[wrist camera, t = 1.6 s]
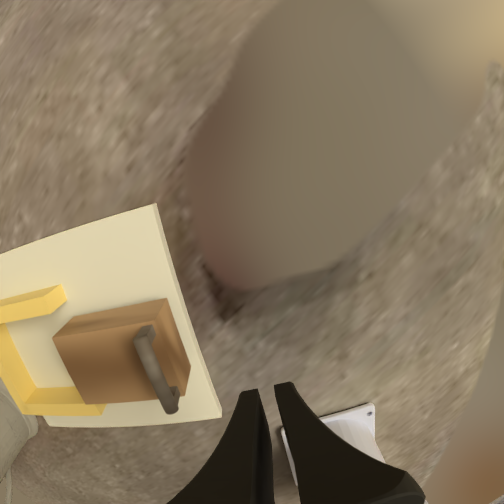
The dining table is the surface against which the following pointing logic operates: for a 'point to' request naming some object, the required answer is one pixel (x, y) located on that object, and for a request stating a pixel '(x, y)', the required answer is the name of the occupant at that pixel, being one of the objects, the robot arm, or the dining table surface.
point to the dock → (84, 302)
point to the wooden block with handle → (126, 355)
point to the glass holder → (12, 435)
